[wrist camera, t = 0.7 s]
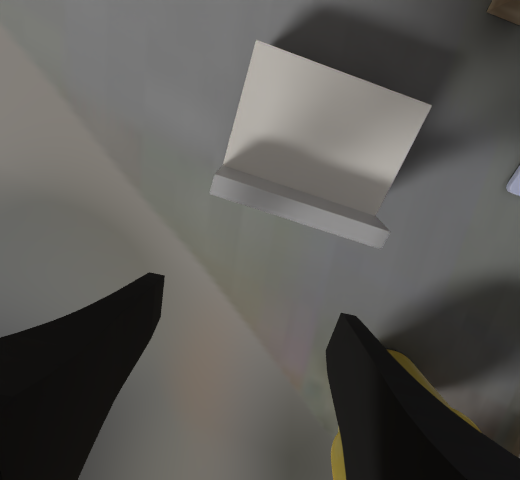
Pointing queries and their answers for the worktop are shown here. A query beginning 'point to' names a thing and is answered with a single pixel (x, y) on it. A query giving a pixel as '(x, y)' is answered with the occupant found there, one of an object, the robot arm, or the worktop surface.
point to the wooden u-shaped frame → (506, 10)
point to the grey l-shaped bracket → (317, 145)
